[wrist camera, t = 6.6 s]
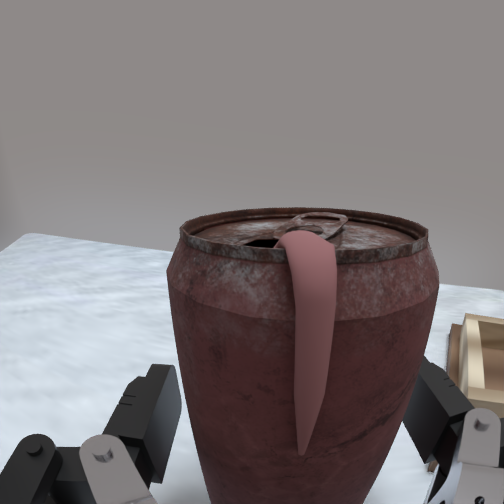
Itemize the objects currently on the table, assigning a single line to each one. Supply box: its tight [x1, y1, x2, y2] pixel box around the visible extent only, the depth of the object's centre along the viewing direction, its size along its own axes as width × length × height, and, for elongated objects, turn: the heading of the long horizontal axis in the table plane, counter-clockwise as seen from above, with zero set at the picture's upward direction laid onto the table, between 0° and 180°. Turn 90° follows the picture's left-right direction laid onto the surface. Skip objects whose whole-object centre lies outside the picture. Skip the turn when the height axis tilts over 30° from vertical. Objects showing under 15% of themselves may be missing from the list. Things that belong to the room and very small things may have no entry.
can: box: [166, 207, 439, 504], centre depth 8 cm, size 6×6×14 cm
